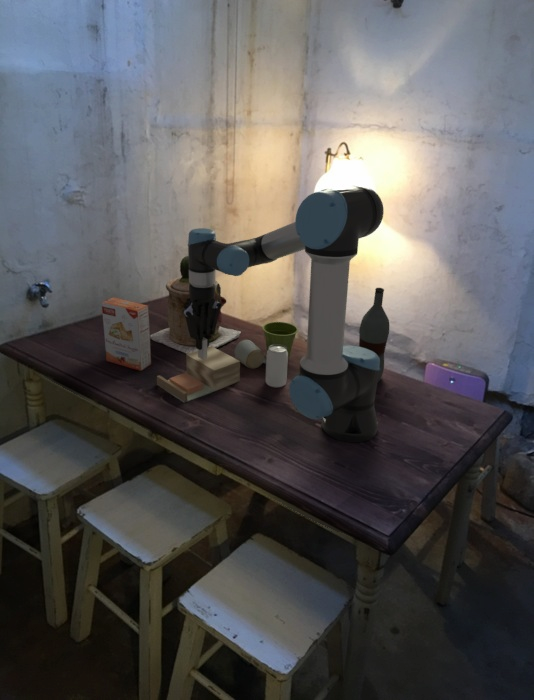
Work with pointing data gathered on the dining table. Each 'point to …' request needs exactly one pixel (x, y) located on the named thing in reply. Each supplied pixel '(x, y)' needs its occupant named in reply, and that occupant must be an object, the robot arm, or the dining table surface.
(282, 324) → the plant pot
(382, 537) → the dining table surface
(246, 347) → the ceramic mug
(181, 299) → the cookie jar
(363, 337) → the bottle
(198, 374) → the beige rectangular slab
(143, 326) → the cracker box
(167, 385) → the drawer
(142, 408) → the dining table surface
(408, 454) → the dining table surface
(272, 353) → the can
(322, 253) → the robot arm
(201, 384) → the orange rectangular slab
